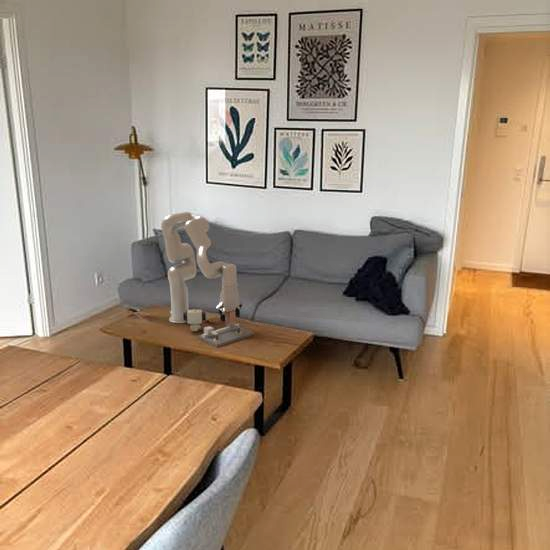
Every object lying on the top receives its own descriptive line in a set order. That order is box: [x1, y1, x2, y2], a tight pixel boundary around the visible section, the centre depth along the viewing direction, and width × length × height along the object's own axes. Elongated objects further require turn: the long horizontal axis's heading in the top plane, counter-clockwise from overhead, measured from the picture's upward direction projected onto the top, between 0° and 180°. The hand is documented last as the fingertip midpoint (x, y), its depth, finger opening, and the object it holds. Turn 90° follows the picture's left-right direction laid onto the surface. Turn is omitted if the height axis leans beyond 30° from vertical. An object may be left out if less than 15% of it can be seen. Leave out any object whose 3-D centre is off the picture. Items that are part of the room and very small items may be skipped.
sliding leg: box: [224, 309, 241, 332], centre depth 284 cm, size 9×4×10 cm, turn 43°
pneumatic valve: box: [183, 308, 207, 332], centre depth 289 cm, size 6×12×12 cm, turn 94°
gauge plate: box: [197, 323, 255, 348], centre depth 280 cm, size 16×24×6 cm, turn 133°
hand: (230, 318), depth 286 cm, fingers open, 9 cm apart
